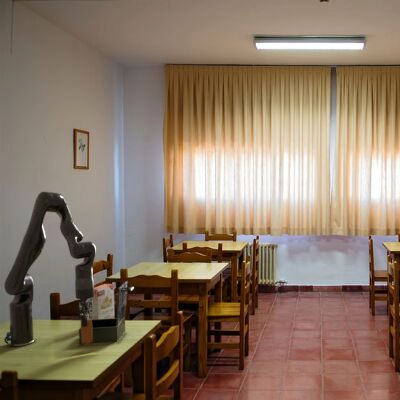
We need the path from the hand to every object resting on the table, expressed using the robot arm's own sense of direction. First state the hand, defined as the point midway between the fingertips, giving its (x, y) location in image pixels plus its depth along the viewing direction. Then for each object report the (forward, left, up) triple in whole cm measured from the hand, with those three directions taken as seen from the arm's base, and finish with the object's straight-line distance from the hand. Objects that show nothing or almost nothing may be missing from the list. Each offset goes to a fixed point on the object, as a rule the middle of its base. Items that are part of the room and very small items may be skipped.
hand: (86, 324), depth 222 cm
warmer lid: (+16, +12, +5) cm, 21 cm away
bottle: (0, 0, -8) cm, 8 cm away
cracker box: (+10, +40, -13) cm, 43 cm away
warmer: (+8, +15, -12) cm, 21 cm away
